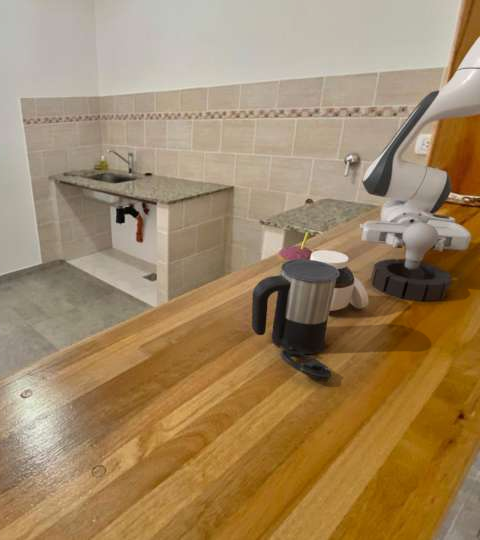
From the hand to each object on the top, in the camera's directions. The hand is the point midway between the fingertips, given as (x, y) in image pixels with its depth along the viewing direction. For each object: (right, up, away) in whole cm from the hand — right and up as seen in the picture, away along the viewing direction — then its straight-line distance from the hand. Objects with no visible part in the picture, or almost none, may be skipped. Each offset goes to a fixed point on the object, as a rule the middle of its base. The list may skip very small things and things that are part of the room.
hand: (418, 246), depth 83 cm
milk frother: (-33, -20, -15) cm, 41 cm away
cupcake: (-21, -6, +15) cm, 26 cm away
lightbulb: (+1, -5, +3) cm, 6 cm away
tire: (+1, -9, +5) cm, 10 cm away
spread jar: (-20, -13, -1) cm, 24 cm away
